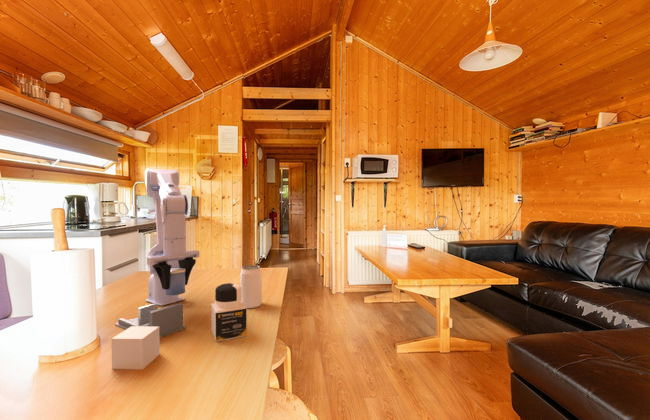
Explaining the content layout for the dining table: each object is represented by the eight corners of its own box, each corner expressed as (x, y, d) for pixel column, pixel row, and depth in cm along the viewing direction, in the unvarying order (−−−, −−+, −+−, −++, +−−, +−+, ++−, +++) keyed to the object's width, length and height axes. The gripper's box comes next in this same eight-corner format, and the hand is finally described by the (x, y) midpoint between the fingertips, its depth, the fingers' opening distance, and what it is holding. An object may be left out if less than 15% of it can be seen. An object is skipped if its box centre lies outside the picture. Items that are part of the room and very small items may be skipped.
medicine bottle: (215, 342, 72) (215, 290, 71) (211, 331, 78) (211, 283, 78) (246, 336, 75) (246, 286, 75) (240, 326, 81) (240, 280, 81)
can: (256, 309, 94) (256, 269, 94) (236, 308, 95) (236, 268, 95) (264, 302, 100) (264, 265, 100) (246, 301, 101) (245, 264, 101)
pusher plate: (138, 324, 80) (138, 307, 80) (155, 319, 84) (155, 303, 83) (140, 325, 79) (140, 308, 79) (157, 320, 83) (157, 303, 83)
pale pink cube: (131, 354, 66) (131, 326, 66) (159, 354, 66) (159, 326, 66) (111, 369, 60) (111, 338, 60) (142, 369, 60) (142, 338, 60)
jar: (161, 293, 87) (160, 270, 87) (178, 289, 92) (177, 267, 91) (173, 296, 84) (172, 272, 84) (189, 291, 89) (189, 269, 89)
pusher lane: (115, 324, 82) (114, 300, 82) (150, 314, 89) (149, 292, 89) (150, 340, 73) (150, 313, 72) (186, 327, 80) (186, 303, 80)
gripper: (157, 242, 79) (157, 295, 80) (206, 236, 92) (206, 282, 92) (142, 240, 83) (142, 291, 83) (190, 235, 95) (191, 279, 96)
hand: (175, 286), depth 88 cm, fingers closed on jar, 5 cm apart
